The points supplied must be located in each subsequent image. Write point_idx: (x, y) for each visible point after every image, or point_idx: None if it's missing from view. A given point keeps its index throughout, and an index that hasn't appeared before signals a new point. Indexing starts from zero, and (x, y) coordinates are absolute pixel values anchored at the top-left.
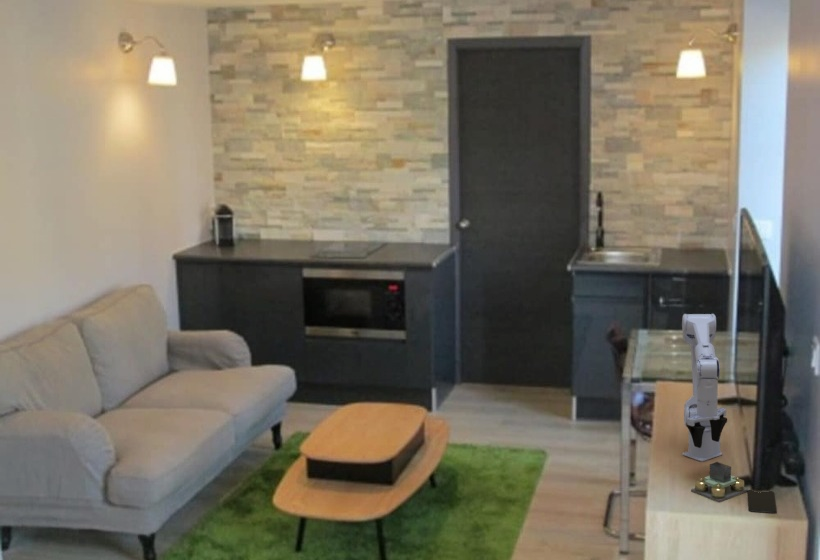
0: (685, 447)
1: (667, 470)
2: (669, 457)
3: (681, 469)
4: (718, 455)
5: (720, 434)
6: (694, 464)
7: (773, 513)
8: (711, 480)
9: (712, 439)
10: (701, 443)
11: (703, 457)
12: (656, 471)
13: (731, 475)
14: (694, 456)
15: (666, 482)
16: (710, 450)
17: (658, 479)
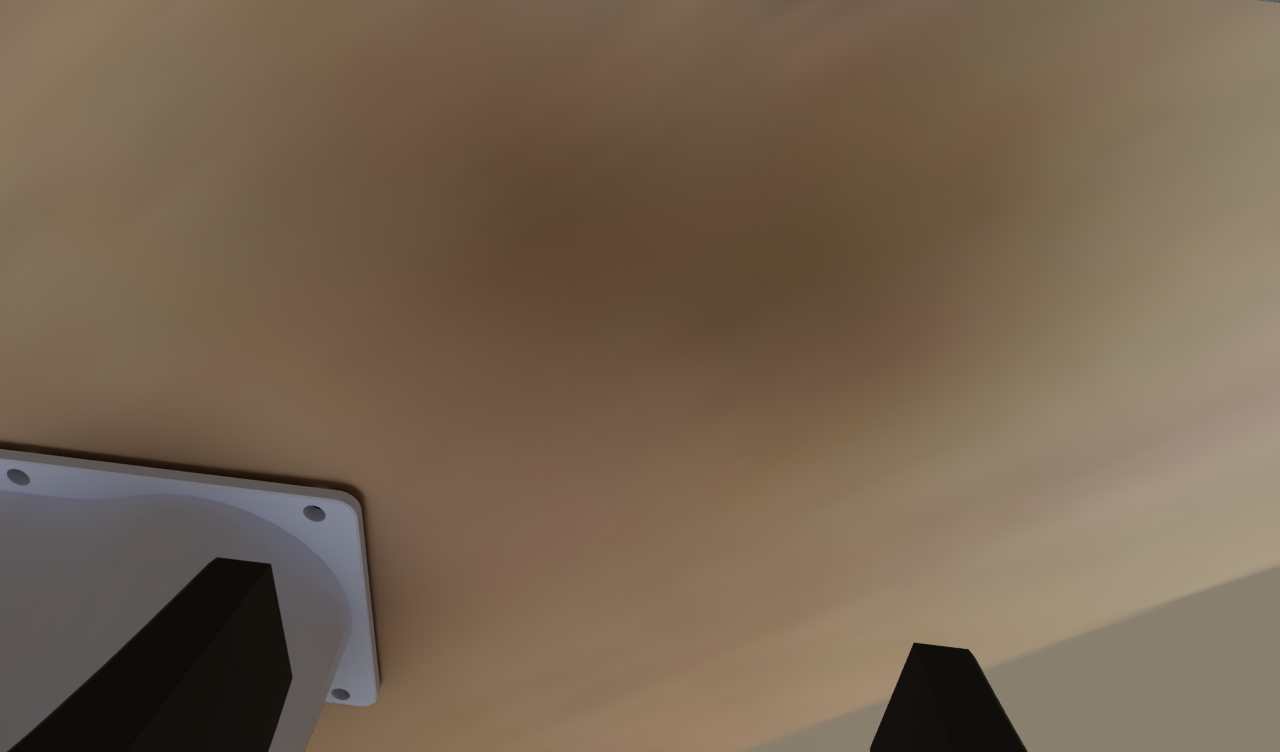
0: None
1: (865, 607)
2: (529, 729)
3: (729, 530)
4: (39, 458)
5: (77, 710)
6: (480, 509)
7: None
8: None
9: (283, 686)
10: (968, 737)
11: (273, 531)
12: None
13: None
14: (344, 602)
15: (1264, 454)
16: (129, 559)
17: (1206, 554)
